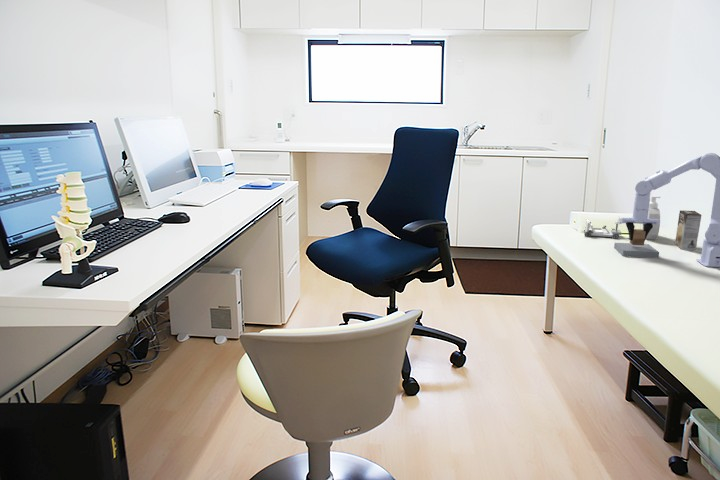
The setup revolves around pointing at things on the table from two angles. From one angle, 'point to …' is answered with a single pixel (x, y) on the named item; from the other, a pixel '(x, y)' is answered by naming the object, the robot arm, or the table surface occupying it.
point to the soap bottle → (653, 214)
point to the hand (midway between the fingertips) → (637, 240)
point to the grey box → (636, 250)
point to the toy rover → (601, 232)
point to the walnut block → (638, 237)
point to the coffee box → (688, 230)
